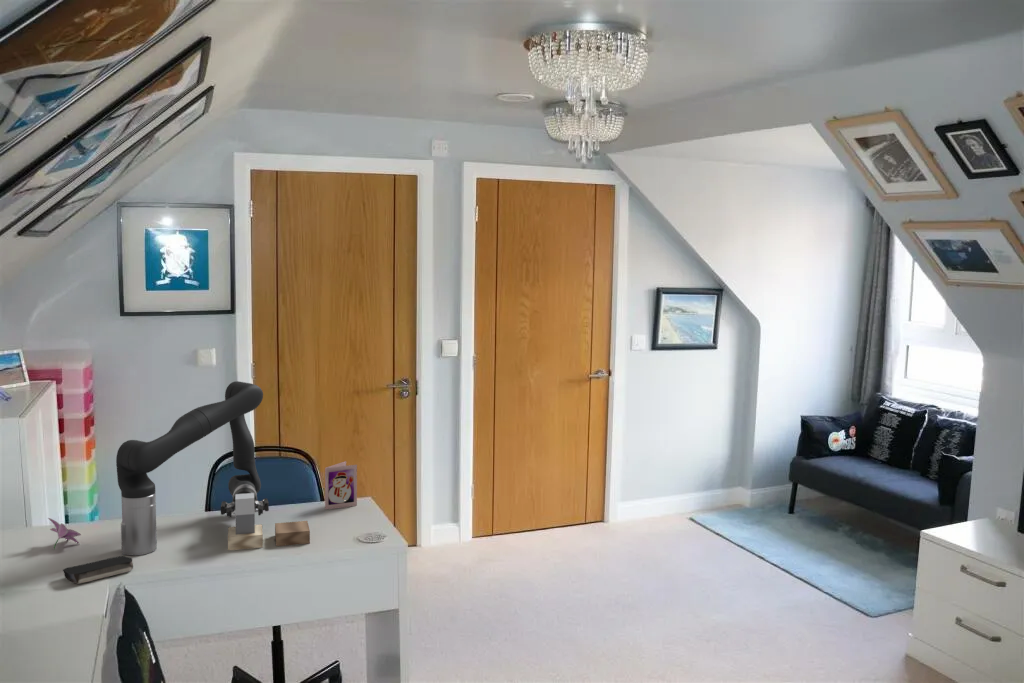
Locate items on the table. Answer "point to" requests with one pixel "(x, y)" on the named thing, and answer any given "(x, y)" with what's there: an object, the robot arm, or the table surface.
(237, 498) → the block
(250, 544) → the birch stand
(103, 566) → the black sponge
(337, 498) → the greeting card
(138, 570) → the table surface
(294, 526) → the walnut stand
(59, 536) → the lily
